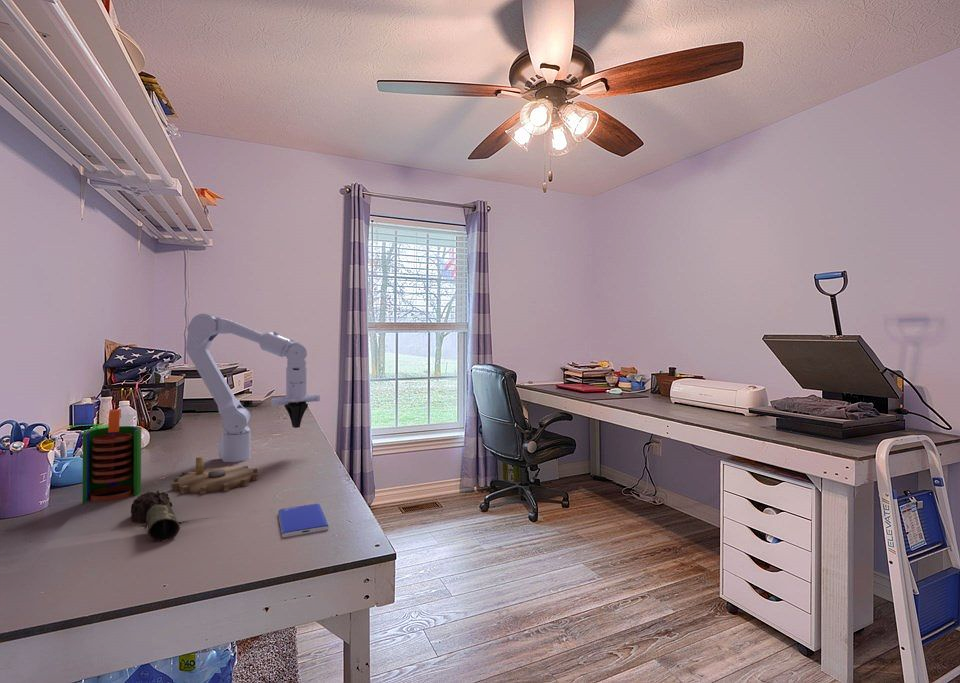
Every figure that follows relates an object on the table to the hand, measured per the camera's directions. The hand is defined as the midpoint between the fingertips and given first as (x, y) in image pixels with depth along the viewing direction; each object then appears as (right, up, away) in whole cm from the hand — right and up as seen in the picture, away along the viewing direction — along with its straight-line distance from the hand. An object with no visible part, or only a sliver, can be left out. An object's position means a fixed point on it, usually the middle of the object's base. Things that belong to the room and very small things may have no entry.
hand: (296, 427), depth 139 cm
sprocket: (-9, -8, -27) cm, 29 cm away
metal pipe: (-7, -10, -51) cm, 52 cm away
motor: (-26, -10, -37) cm, 46 cm away
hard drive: (+21, -11, -48) cm, 53 cm away
